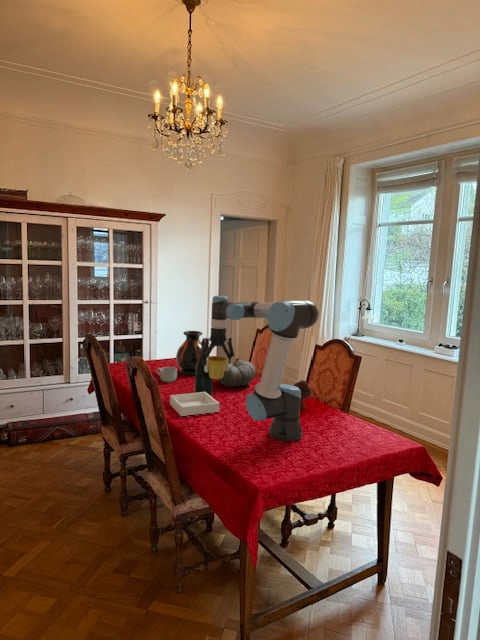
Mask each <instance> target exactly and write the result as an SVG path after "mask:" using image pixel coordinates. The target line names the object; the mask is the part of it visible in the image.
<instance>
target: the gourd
mask: <svg viewBox="0 0 480 640" xmlns="http://www.w3.org/2000/svg"><path fill="white" fill-rule="evenodd" d="M256 369H257V368H256V366H255V365H254V364H253V363H252V362H250V361H246V360H242V359H239V357H236V359H235V361H233V362H230V364H229V367H228V371H226V370H225V371H224V375H223V378H221V379H217V380H218V382H219V383H221V385H223V386H225V387H228V388H232V387H244V386H247V385H249V384H250V383H251V382H252V381H253V380H254V379H255V377H256Z"/></svg>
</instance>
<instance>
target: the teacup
mask: <svg viewBox="0 0 480 640" xmlns="http://www.w3.org/2000/svg"><path fill="white" fill-rule="evenodd" d="M156 374H157V375H158V376H159V378H160V380H161V381H162V382H163V383H173V382H175V380H176V379H177V377H178V368H177V367H174V366H163V367H157V368H156Z"/></svg>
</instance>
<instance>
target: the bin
mask: <svg viewBox="0 0 480 640" xmlns="http://www.w3.org/2000/svg"><path fill="white" fill-rule="evenodd" d="M169 398H170V399H169V405H170V406H171V407H172V408H173V409H174V411H176V412H177V414H178V415H179V416H180V417H182V416H187V415H195V414H203V415H206V414H205V413H211V414H215V413H214V412H219V413H220V402H219V401H218V400H216V399H215V398H214V397H213V396H212V395H211V396H210V395H209V394H207V393H206V392H198V393H195V392H189V393H181V394H171V395H169ZM195 416H196V415H195ZM187 417H188V416H187Z"/></svg>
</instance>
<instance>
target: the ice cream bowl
mask: <svg viewBox="0 0 480 640" xmlns="http://www.w3.org/2000/svg"><path fill="white" fill-rule="evenodd" d="M293 386H296V387H298V388H299V389H300V390H301V404H300V409H306V404H304V402H303V401H304V400H307V399H308V398H310V396H311V395H312V392H313V389H312V388H311V387H310V386H309V383H308V382H307V380H303V379H302V380H299V381H298V382H295V383H294V384H293Z"/></svg>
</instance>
